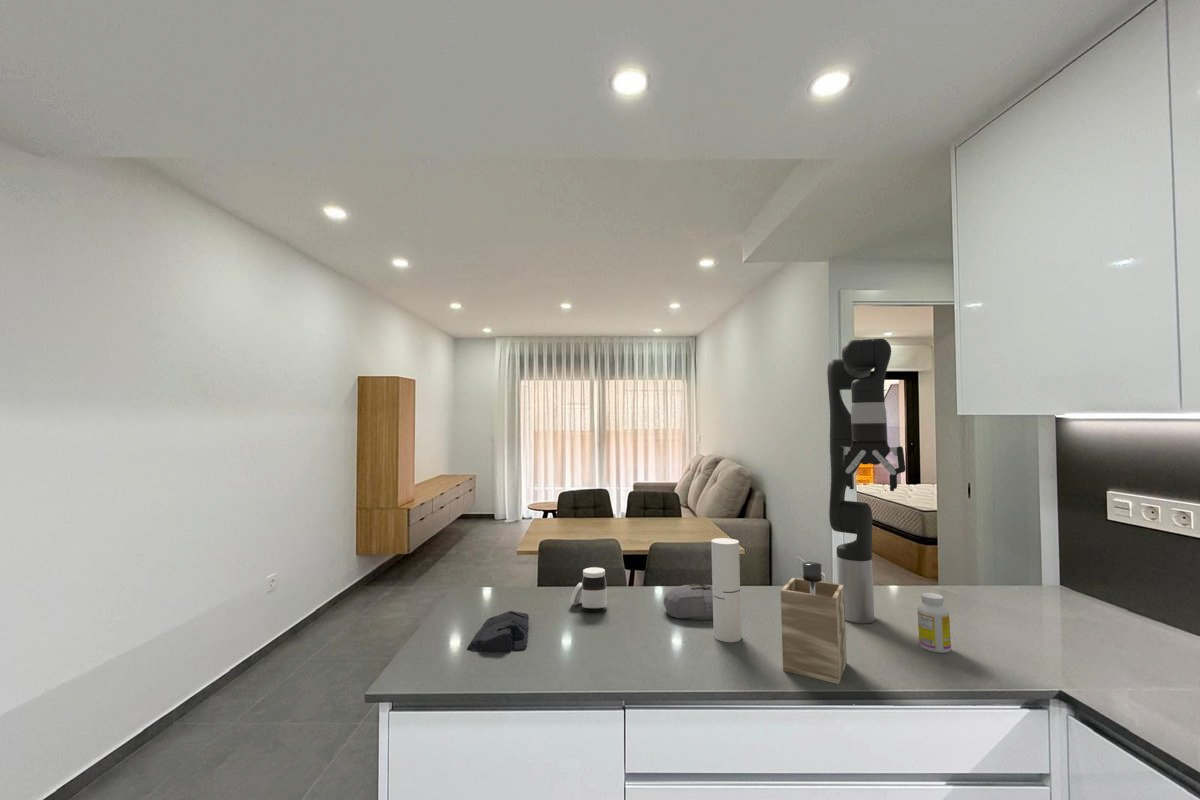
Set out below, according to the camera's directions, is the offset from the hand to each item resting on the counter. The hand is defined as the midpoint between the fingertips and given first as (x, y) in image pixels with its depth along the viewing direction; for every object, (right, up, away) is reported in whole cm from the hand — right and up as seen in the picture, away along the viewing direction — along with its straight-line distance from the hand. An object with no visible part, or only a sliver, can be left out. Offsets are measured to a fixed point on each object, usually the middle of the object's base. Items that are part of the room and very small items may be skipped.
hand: (871, 489), depth 122 cm
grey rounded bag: (-36, -43, +31) cm, 64 cm away
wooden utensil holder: (-15, -40, -4) cm, 43 cm away
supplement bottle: (+18, -40, +5) cm, 45 cm away
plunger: (-15, -39, -4) cm, 42 cm away
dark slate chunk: (-91, -43, +17) cm, 102 cm away
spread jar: (-68, -43, +37) cm, 89 cm away
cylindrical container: (-31, -42, +14) cm, 54 cm away
